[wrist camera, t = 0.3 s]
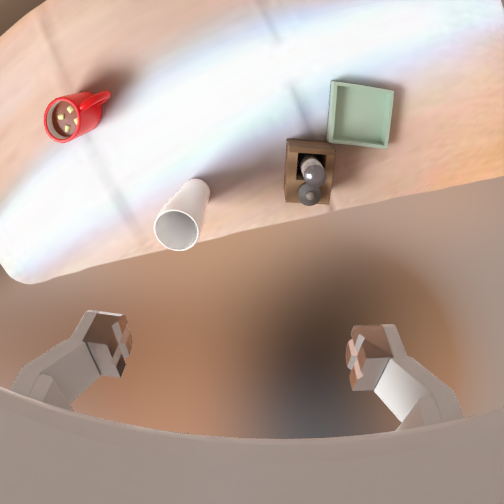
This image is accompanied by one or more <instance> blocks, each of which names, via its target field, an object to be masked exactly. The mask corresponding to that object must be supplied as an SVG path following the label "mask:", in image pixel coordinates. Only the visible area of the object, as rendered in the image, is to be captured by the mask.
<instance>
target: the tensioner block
mask: <svg viewBox="0 0 504 504" xmlns="http://www.w3.org/2000/svg"><path fill="white" fill-rule="evenodd" d="M298 153H309V154H320V155H319V161H320V163H321V165H322V166H323V168H324V170H325V172H326V174H327V179H326V182H325V183H324V184H323V185H322V186H320V187H317V188H314V187H310V186H309V185H307V184H306V182H305V180H304V177H303V174H302V171H301V169H297V159H298ZM334 160H335V149H334V148H333V147H332V146H331V145H330V143H329V142H322V141H310V140H295V139H287V146H286V163H285V178H284V193H285V200H286V202H293V203H302V204H304V205H307V206H312V205H315V204H328V205H329V201H330V193H331V186H332V177H333V169H334Z"/></svg>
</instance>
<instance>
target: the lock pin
mask: <svg viewBox="0 0 504 504" xmlns="http://www.w3.org/2000/svg"><path fill="white" fill-rule="evenodd" d="M297 160H298V163H299V166H300V168H301V171H302V174H303V177H304V180H305V182H306V184H307V185H309V186H310V187H314V188H317V187H320V186H322V185H323V184H324V183H325V182H326V179H327V174H326V172H325V170H324V168H323V166H322V165H321V163H320V161H319V160H318V158H317V156H316V154H309V153H298V159H297Z"/></svg>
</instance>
